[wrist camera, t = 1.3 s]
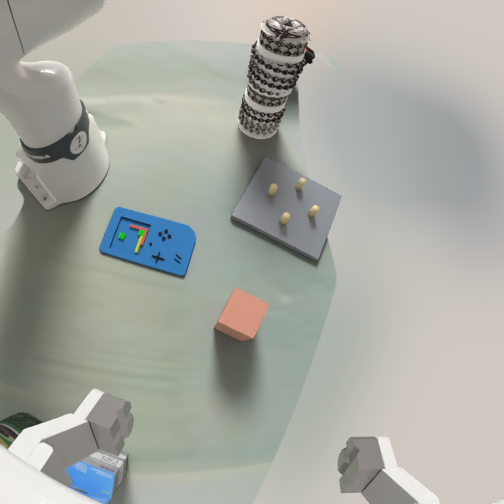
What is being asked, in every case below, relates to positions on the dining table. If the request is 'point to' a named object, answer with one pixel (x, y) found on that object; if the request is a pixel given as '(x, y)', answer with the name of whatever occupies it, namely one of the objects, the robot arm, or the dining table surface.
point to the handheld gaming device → (149, 241)
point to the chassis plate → (288, 208)
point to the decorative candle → (272, 75)
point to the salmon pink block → (241, 316)
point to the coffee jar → (15, 427)
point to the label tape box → (98, 474)
